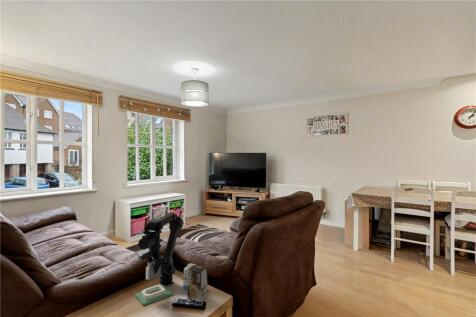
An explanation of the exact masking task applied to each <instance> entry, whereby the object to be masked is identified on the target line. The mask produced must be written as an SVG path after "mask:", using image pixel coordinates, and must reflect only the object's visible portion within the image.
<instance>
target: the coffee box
mask: <svg viewBox="0 0 476 317" xmlns="http://www.w3.org/2000/svg"><path fill="white" fill-rule="evenodd" d="M186 291H187V296H186V298H187V300H190V299H193V300H198V301H203V302H204V301H205V300H206V299H207V298H208V267H206V266H202V265H197V264H196V265H193V266H191V267H190V268H189V269H188V290H186ZM193 300H192V301H193Z"/></svg>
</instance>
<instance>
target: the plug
mask: <svg viewBox="0 0 476 317" xmlns="http://www.w3.org/2000/svg"><path fill="white" fill-rule="evenodd" d="M151 262H153V261H151ZM151 262H149V261H148V262H147V266H145V279H146V280H147V281H152V280H154V279H158V278H160V277H161V265H160V267H159V269H158V271H157V273H154V266H153V264H152V263H151Z"/></svg>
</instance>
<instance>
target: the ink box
mask: <svg viewBox="0 0 476 317" xmlns="http://www.w3.org/2000/svg"><path fill="white" fill-rule="evenodd" d="M193 265H197V264H195V263H188V264H187V265H186V266H185V267H184V269H183V286H182V287H183V290H184V291H187V290H188V269H189V268H190V267H191V266H193Z"/></svg>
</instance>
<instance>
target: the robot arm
mask: <svg viewBox="0 0 476 317" xmlns="http://www.w3.org/2000/svg"><path fill="white" fill-rule="evenodd" d="M184 223H185V222H184V220H183V218H182V217H181V216H179V215H178V214H177V213H174V212H169V213H167V214H165V215H163V216H161V217H159V218H153V219H149V220H148V222H147V224H146V227H145V229H144V231H143V235H142V236H141V238H140V239H139V240H138V241H137V242H138V247H139V249H140V251H139V252H138V253H137V257H138V259H139V261H141V262H144V261H145V260H147V261H148V262H151V261H153V262H151V263H152V264H153V266H154V273H157V271H158V269H159V267H160V265H161V277H159V282H158V283H159V284H160V285H164V286H165V287H167V286H170V285H173V284H174V281H173V279H174V278H173V275H175V272H176V266H174V260H173V254H174V250H175V246H176V243H177V239H178V234H179V233H180V232H181V231H182V229H183V227H184ZM167 224H168V228H169V236H168V239H167V242H166V243H167V244H166V247H165V250H164V254H163V255H162V252H161V248H162V244H161V234H162V233H163V231H162V230H163V229H164V226H165V225H167Z"/></svg>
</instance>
